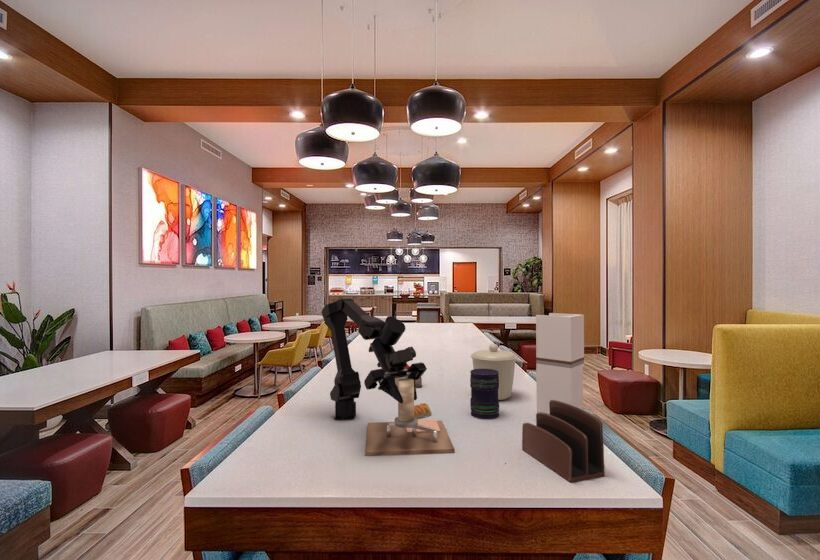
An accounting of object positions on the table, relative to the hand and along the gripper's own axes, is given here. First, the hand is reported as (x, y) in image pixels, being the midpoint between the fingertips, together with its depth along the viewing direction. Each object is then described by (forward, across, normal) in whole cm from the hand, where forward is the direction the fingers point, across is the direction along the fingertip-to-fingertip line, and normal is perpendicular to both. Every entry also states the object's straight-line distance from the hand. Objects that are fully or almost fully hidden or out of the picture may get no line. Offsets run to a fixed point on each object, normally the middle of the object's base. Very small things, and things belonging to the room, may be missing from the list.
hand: (409, 401), depth 115 cm
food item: (-29, +41, +49) cm, 70 cm away
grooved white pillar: (+19, +52, 0) cm, 56 cm away
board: (+4, +5, +14) cm, 16 cm away
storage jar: (+4, +39, +15) cm, 42 cm away
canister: (-4, +58, +24) cm, 63 cm away
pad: (+2, +12, +15) cm, 20 cm away
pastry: (-5, +20, +25) cm, 32 cm away
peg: (+4, 0, +6) cm, 7 cm away
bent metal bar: (+6, +4, +11) cm, 14 cm away
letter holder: (+31, +25, -12) cm, 42 cm away
